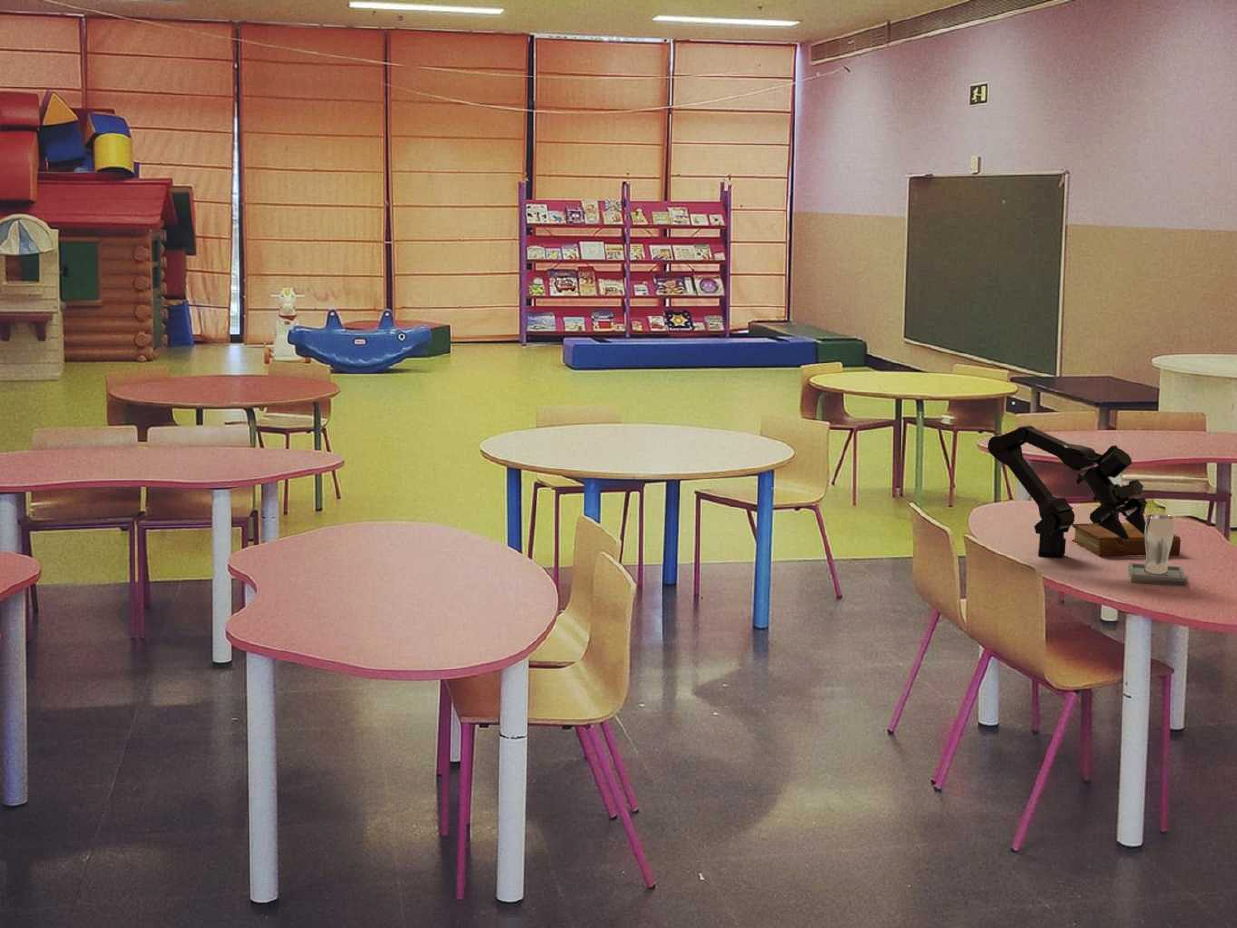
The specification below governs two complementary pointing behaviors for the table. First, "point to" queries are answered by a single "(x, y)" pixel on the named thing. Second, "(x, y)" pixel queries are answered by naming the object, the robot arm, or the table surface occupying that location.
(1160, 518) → the beer glass
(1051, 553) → the robot arm
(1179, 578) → the grey tray
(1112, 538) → the diary
